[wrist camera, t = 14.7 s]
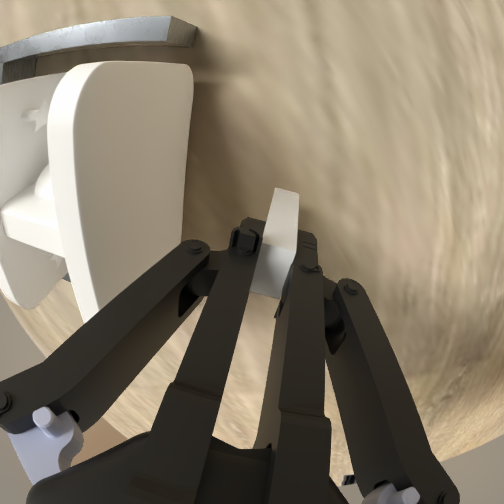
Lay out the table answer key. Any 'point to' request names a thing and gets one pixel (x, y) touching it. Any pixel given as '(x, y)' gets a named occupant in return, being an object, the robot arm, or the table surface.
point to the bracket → (92, 43)
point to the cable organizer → (91, 178)
